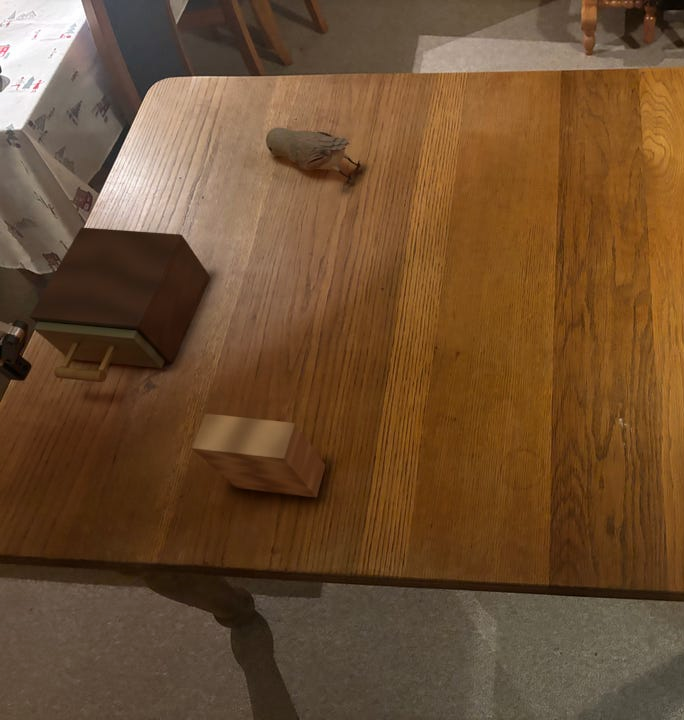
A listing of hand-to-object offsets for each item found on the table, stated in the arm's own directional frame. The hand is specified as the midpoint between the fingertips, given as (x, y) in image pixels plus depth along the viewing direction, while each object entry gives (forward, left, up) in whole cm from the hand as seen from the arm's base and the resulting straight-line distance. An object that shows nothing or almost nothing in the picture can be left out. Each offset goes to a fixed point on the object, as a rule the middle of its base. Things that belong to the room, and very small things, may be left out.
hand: (22, 373), depth 73 cm
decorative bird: (+43, +25, -13) cm, 51 cm away
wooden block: (+18, -20, -13) cm, 30 cm away
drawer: (+8, +9, -12) cm, 17 cm away
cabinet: (+11, +13, -13) cm, 21 cm away
